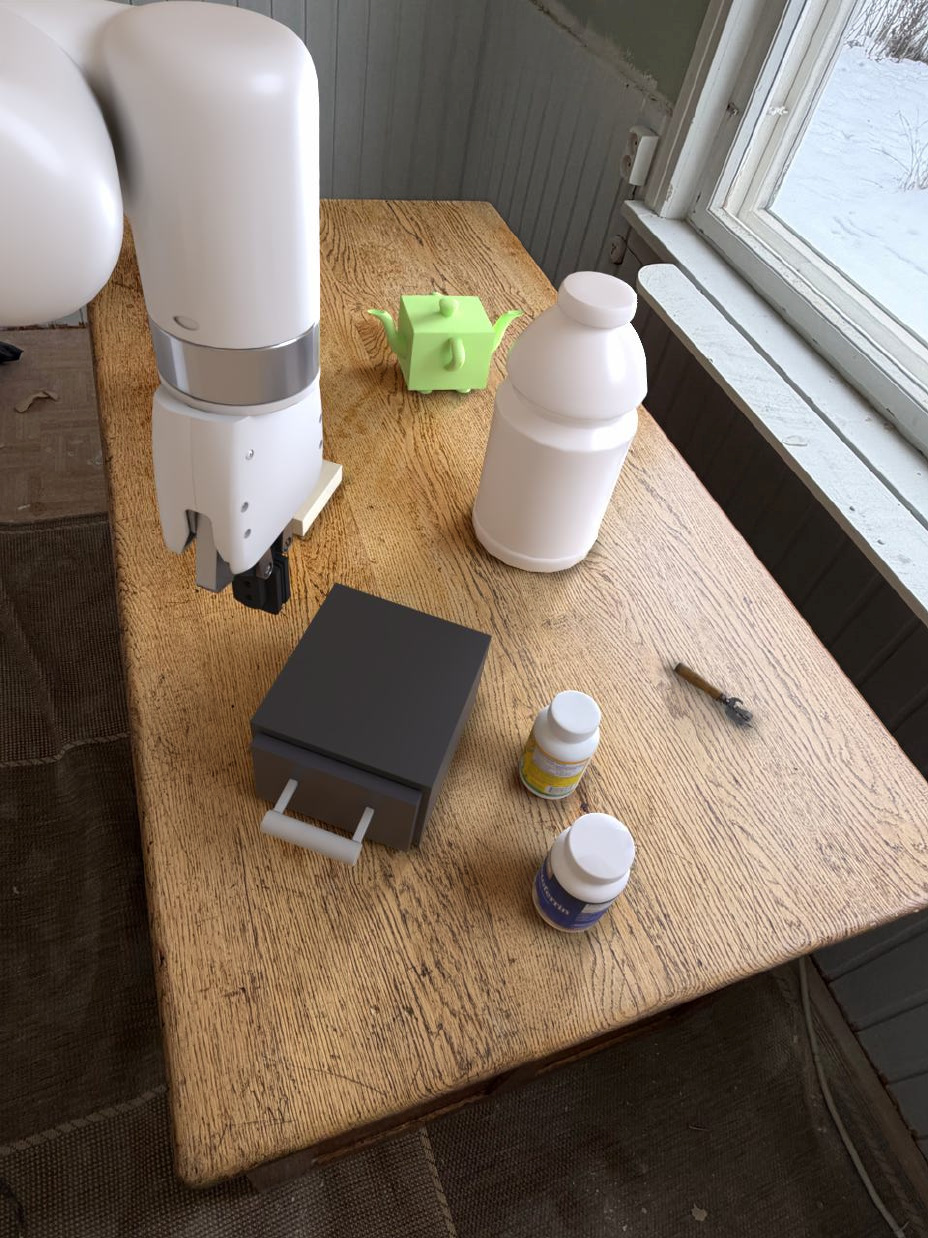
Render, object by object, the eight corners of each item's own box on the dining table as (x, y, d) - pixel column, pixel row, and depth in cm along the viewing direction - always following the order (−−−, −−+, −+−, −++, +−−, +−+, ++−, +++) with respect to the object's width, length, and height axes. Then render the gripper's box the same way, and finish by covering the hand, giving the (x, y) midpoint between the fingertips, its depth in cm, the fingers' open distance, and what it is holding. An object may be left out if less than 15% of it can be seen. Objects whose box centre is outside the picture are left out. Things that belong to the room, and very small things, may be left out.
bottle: (444, 528, 85) (485, 280, 63) (515, 472, 93) (573, 234, 71) (551, 596, 80) (632, 353, 59) (615, 530, 88) (708, 296, 67)
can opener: (671, 671, 76) (675, 664, 75) (684, 660, 77) (689, 653, 76) (746, 735, 72) (751, 728, 72) (759, 722, 74) (765, 715, 73)
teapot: (511, 375, 106) (526, 302, 98) (466, 423, 98) (479, 347, 90) (414, 335, 109) (421, 260, 101) (363, 378, 101) (366, 300, 93)
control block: (198, 501, 82) (193, 472, 79) (244, 448, 89) (241, 419, 86) (303, 536, 81) (302, 508, 78) (342, 480, 87) (342, 452, 84)
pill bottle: (518, 875, 61) (546, 819, 53) (580, 851, 63) (616, 794, 55) (551, 947, 58) (586, 897, 50) (616, 919, 60) (659, 868, 52)
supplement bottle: (556, 813, 65) (585, 755, 57) (505, 774, 66) (527, 712, 59) (590, 771, 68) (622, 710, 60) (540, 734, 69) (566, 671, 62)
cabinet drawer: (386, 906, 57) (394, 862, 51) (229, 846, 58) (218, 796, 52) (461, 715, 68) (475, 661, 62) (329, 668, 70) (329, 611, 64)
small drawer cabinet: (418, 847, 61) (432, 788, 54) (257, 787, 62) (249, 721, 55) (474, 702, 71) (492, 635, 63) (334, 653, 72) (335, 581, 65)
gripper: (247, 256, 41) (267, 511, 55) (62, 399, 32) (141, 664, 46) (376, 296, 41) (363, 545, 55) (226, 456, 31) (256, 709, 45)
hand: (262, 599), depth 50 cm, fingers closed
